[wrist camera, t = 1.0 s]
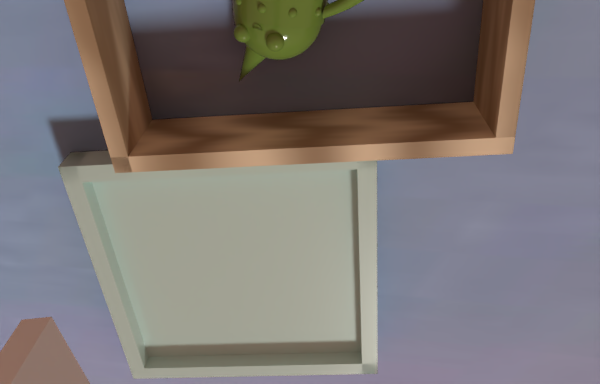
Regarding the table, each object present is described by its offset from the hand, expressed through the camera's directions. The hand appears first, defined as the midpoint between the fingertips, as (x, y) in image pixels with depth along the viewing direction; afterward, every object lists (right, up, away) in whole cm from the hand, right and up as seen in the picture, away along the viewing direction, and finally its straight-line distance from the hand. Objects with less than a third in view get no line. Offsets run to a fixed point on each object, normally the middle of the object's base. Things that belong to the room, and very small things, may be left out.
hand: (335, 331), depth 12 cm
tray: (-5, -2, +28) cm, 28 cm away
